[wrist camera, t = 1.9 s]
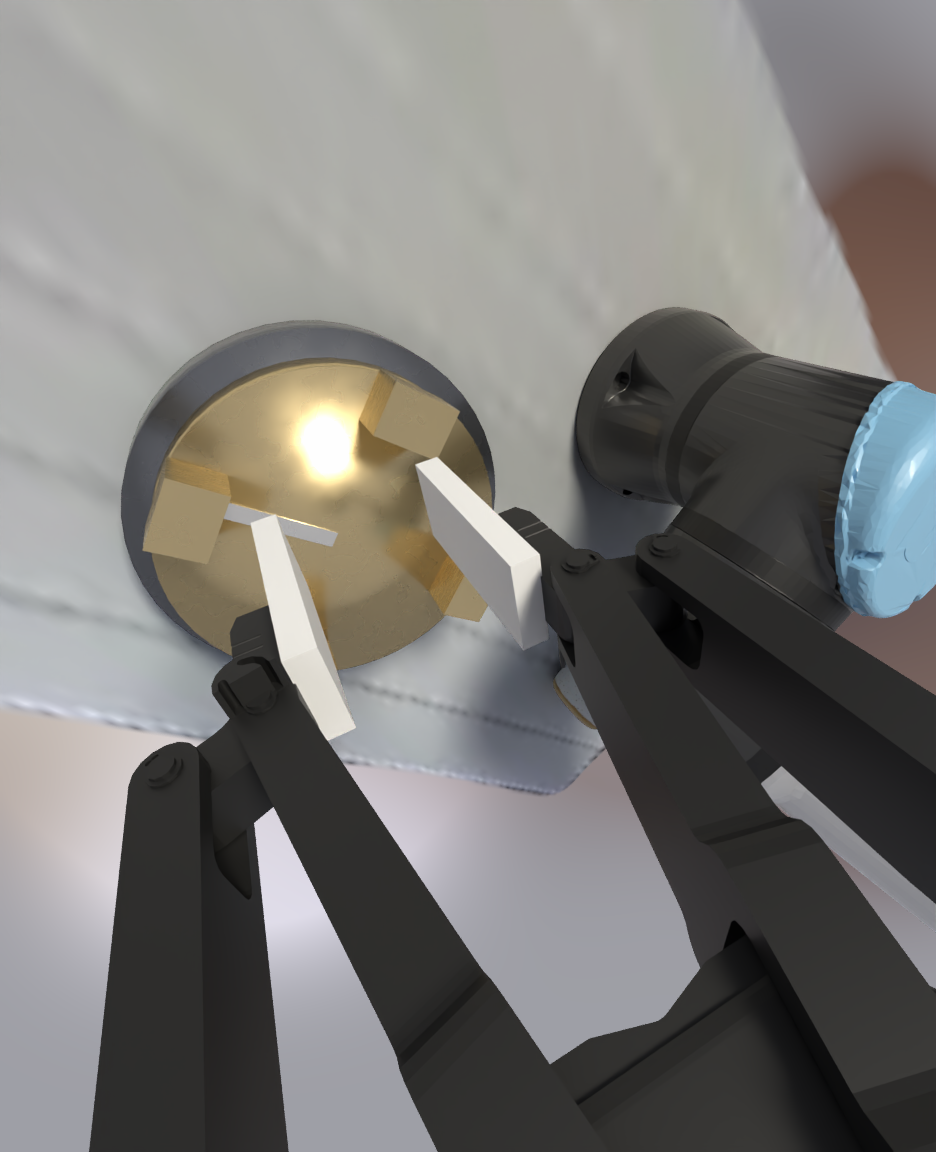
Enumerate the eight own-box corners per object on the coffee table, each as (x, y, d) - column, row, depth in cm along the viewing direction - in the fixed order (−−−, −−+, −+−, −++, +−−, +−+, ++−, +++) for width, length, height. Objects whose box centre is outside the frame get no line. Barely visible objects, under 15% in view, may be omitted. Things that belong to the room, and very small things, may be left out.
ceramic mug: (537, 673, 58) (577, 725, 52) (591, 619, 57) (639, 666, 51) (583, 704, 65) (623, 753, 59) (632, 656, 64) (678, 701, 58)
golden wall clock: (428, 302, 32) (466, 315, 27) (503, 572, 45) (537, 610, 40) (62, 446, 28) (41, 487, 24) (260, 695, 41) (269, 749, 37)
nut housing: (425, 261, 33) (444, 265, 31) (506, 560, 48) (523, 578, 46) (24, 414, 29) (9, 431, 27) (247, 689, 44) (251, 716, 42)
